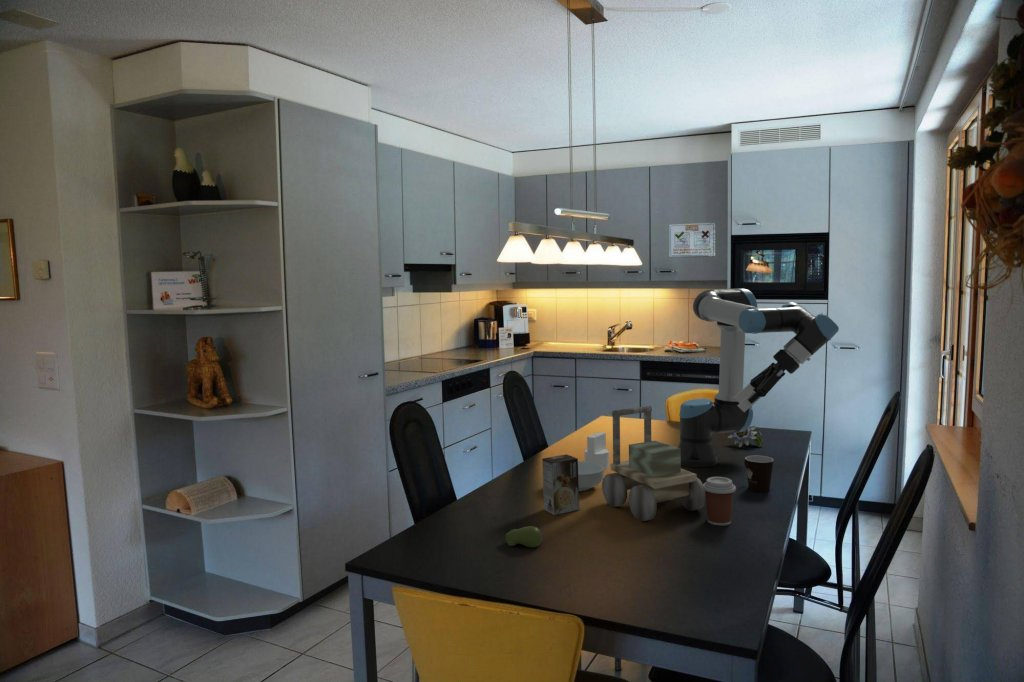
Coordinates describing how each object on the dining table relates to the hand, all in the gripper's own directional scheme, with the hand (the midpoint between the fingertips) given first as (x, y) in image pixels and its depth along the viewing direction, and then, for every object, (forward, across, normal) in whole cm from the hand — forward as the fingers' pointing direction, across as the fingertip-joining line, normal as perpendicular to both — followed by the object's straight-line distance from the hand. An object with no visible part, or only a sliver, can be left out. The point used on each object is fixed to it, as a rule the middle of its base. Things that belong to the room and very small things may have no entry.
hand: (738, 404), depth 207 cm
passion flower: (+15, +69, -27) cm, 76 cm away
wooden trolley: (+39, -13, -3) cm, 41 cm away
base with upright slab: (+55, +28, +13) cm, 63 cm away
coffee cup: (+26, -22, -16) cm, 38 cm away
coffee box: (+58, -20, +16) cm, 64 cm away
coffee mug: (+16, +12, -26) cm, 33 cm away
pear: (+62, -48, +20) cm, 81 cm away
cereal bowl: (+57, +2, +15) cm, 59 cm away
